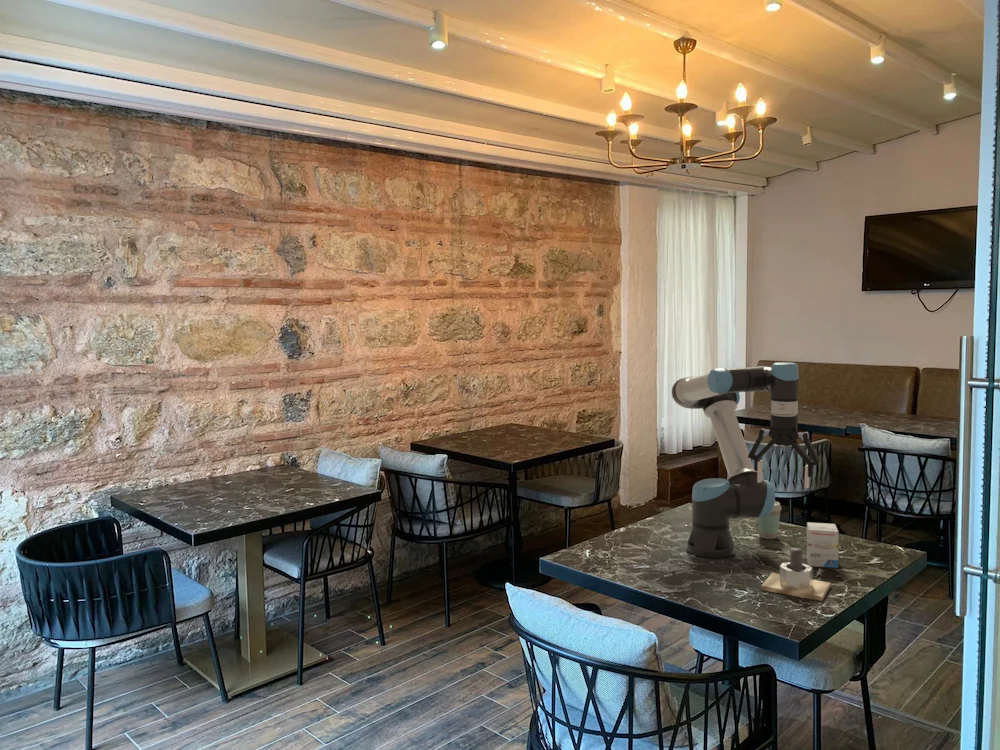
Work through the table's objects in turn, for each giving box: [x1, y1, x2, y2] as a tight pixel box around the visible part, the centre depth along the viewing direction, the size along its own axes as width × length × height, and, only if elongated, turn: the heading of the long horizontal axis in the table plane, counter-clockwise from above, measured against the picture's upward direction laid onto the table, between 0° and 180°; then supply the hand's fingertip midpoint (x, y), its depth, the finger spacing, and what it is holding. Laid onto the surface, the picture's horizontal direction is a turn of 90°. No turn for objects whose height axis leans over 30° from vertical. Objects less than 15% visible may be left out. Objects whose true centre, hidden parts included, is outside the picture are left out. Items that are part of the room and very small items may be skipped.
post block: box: [760, 547, 832, 602], centre depth 208 cm, size 16×12×11 cm
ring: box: [779, 561, 813, 590], centre depth 208 cm, size 8×8×5 cm
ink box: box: [806, 521, 840, 569], centre depth 228 cm, size 9×8×12 cm
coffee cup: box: [756, 500, 782, 540], centre depth 255 cm, size 8×9×12 cm
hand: (782, 484), depth 221 cm, fingers open, 13 cm apart
